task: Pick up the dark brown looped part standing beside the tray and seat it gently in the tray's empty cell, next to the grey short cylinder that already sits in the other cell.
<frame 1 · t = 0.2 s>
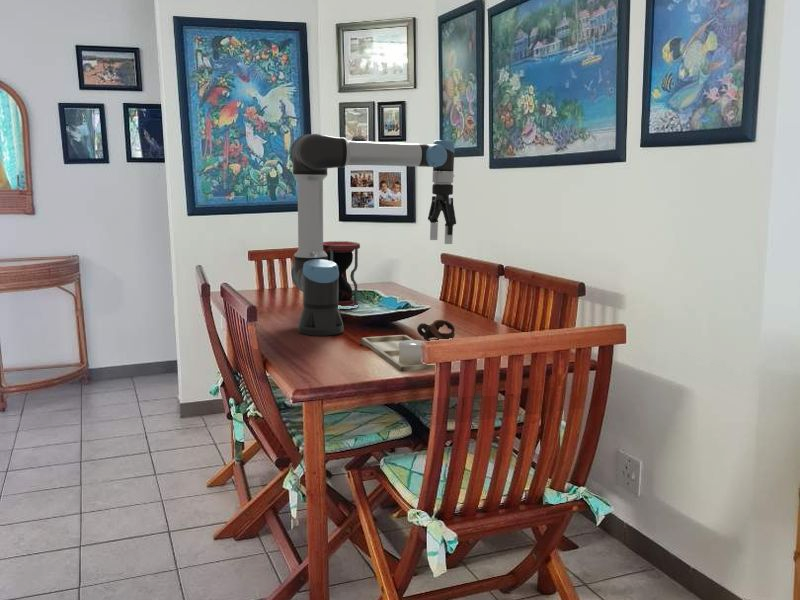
hand: (440, 242, 270), 28 cm above the table, fingers open, 13 cm apart
dark brown looped part: (435, 343, 234), on the table
grey short cylinder: (414, 360, 208), point 1 cm above the table, touching tray
hourglass: (338, 306, 288), on the table
tray: (403, 356, 216), on the table
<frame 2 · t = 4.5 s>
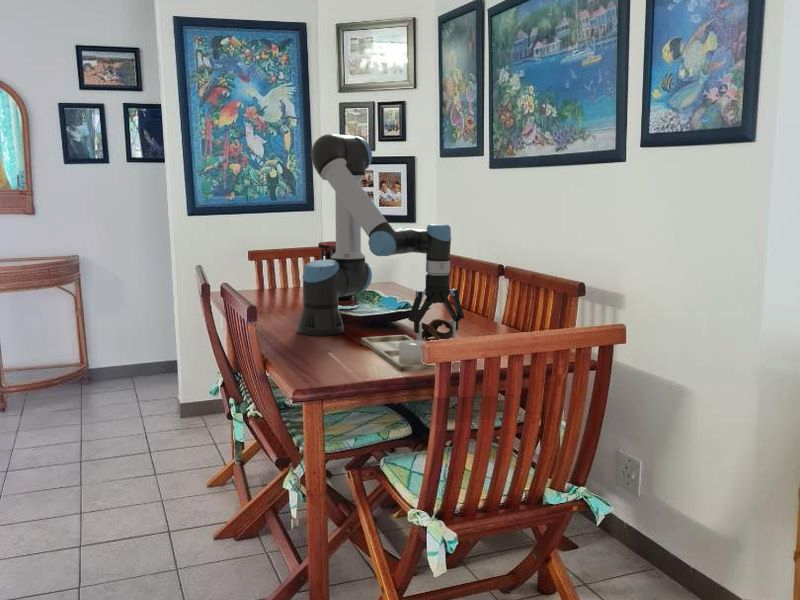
hand: (435, 341, 233), 0 cm above the table, fingers open, 11 cm apart
dark brown looped part: (433, 342, 235), on the table
everything else where it was.
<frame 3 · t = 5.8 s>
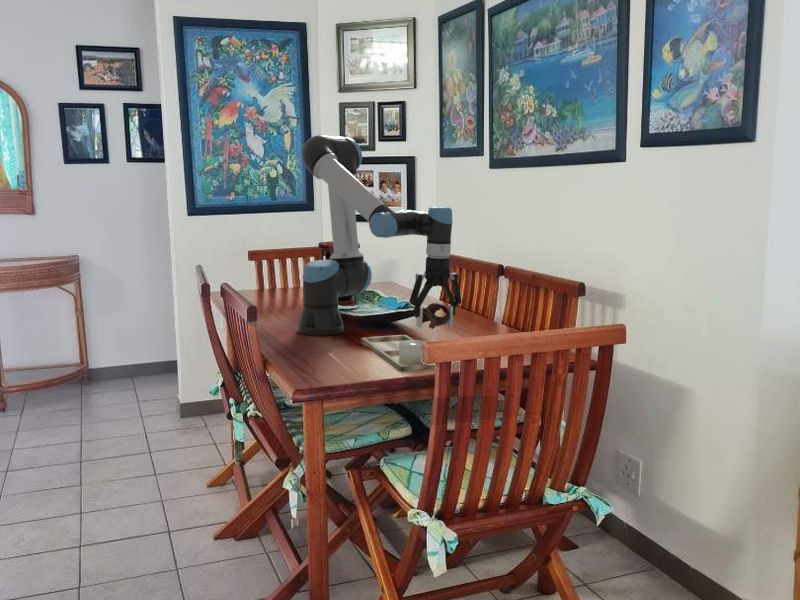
hand: (434, 325, 233), 5 cm above the table, fingers closed on dark brown looped part, 10 cm apart
dark brown looped part: (430, 326, 234), point 5 cm above the table, touching gripper
everything else where it was.
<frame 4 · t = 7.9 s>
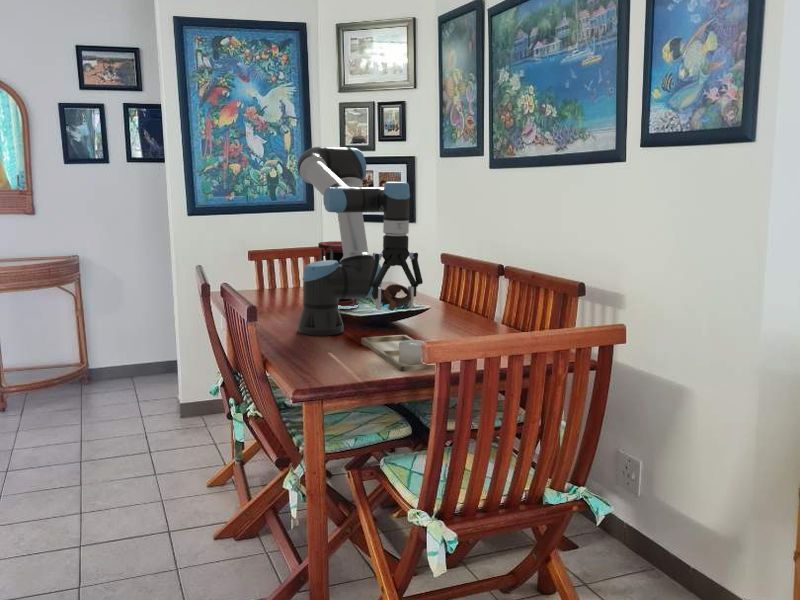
hand: (394, 308, 221), 13 cm above the table, fingers closed on dark brown looped part, 10 cm apart
dark brown looped part: (390, 308, 223), point 12 cm above the table, touching gripper
everything else where it was.
when the fingers open (3 cm above the table, at t = 10.4 s): dark brown looped part drops 2 cm, resting on tray.
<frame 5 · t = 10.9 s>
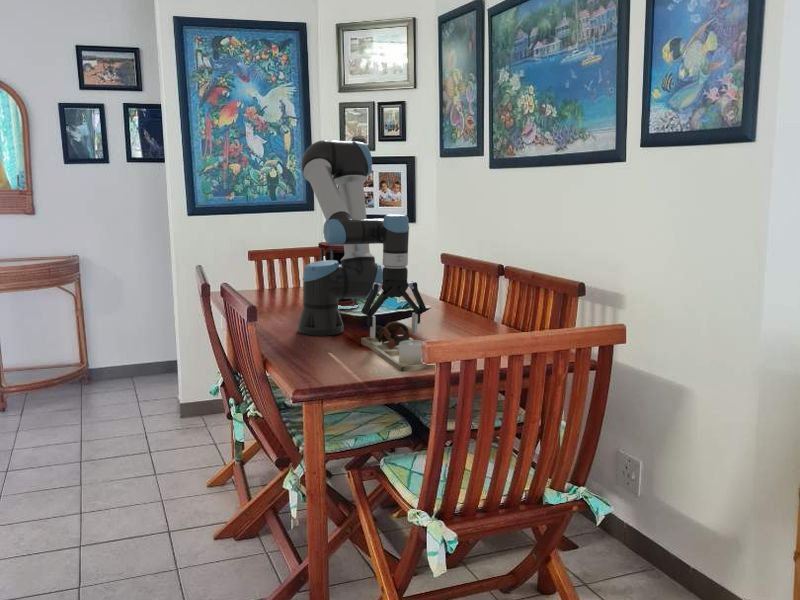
hand: (393, 335, 223), 4 cm above the table, fingers open, 13 cm apart
dark brown looped part: (390, 346, 225), point 1 cm above the table, touching tray
everything else where it was.
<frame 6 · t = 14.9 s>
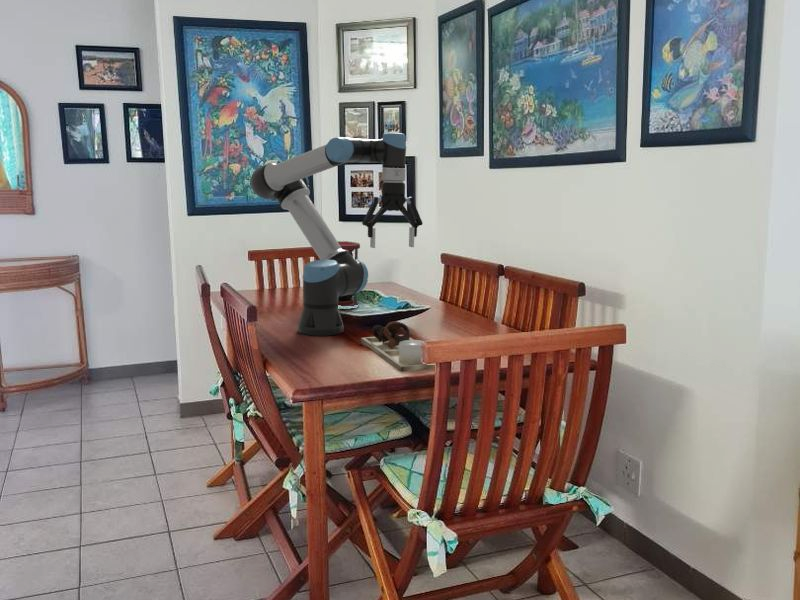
hand: (392, 247, 241), 29 cm above the table, fingers open, 13 cm apart
nothing on the table moved.
at the end: dark brown looped part inside the target area on the tray (1.9 cm from its centre), point 0.6 cm above the tray's base; dark brown looped part tilted 0°; the gripper is holding nothing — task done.
